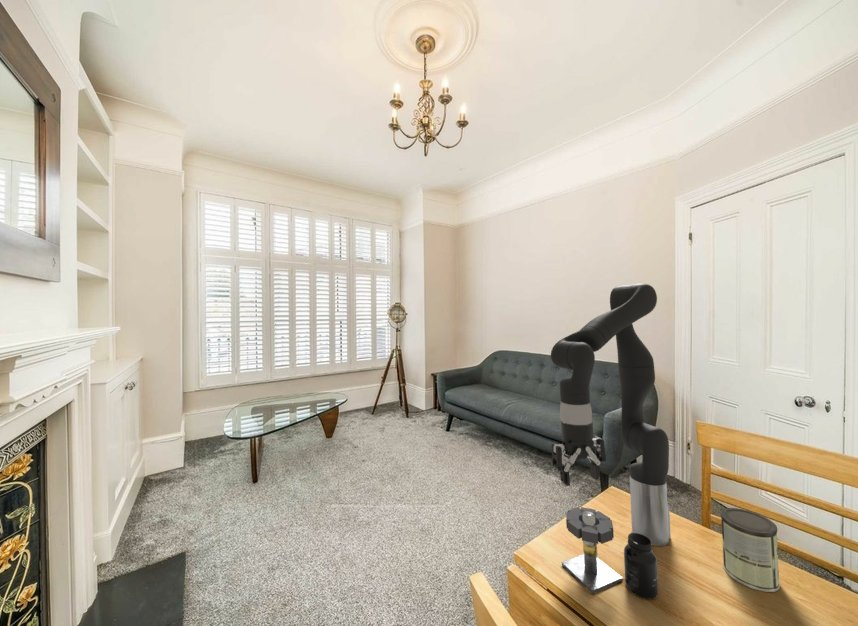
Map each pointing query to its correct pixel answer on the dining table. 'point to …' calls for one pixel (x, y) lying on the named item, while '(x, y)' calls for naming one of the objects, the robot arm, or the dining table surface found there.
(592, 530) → the ring
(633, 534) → the supplement bottle
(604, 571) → the metal peg stand
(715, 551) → the dining table surface
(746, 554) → the coffee can
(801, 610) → the dining table surface
